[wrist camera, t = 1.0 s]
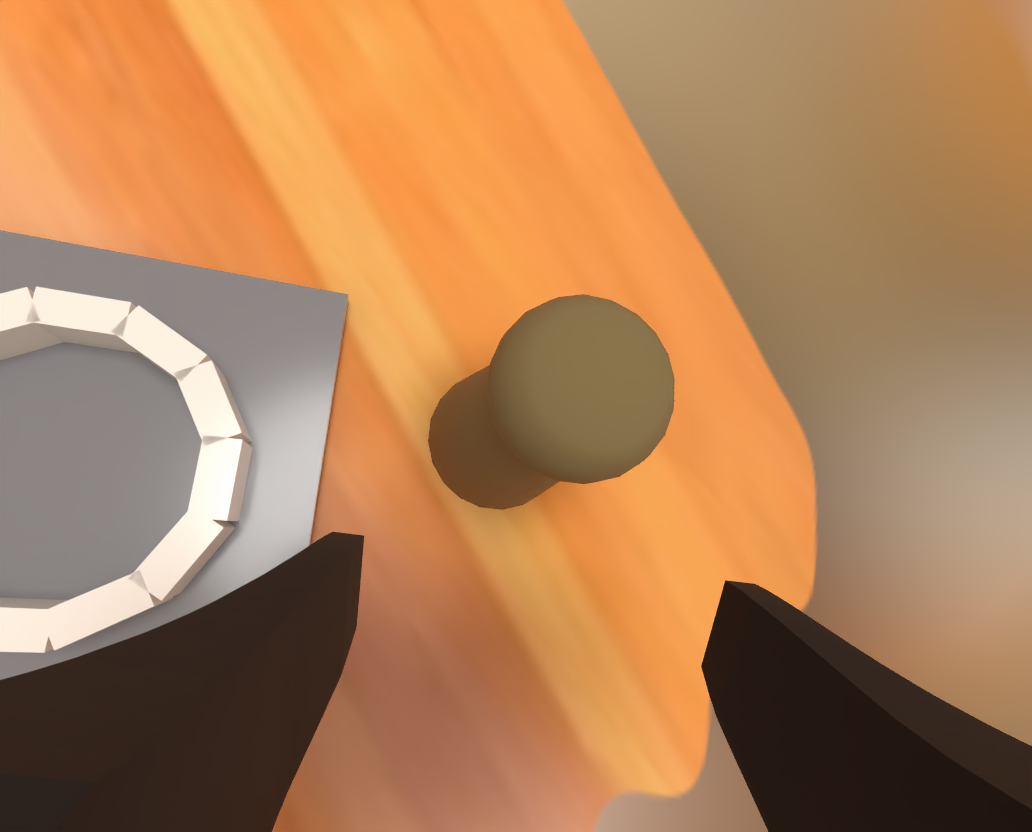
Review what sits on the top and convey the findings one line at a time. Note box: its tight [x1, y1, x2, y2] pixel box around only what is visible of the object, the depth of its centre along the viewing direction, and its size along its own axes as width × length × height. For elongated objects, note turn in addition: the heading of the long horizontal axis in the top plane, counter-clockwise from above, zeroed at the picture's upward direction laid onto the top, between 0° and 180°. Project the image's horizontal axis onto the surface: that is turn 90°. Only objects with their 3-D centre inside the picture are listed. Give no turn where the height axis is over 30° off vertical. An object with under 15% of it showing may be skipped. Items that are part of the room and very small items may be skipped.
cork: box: [428, 295, 674, 509], centre depth 19 cm, size 6×6×11 cm
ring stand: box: [0, 230, 348, 680], centre depth 18 cm, size 16×16×3 cm
